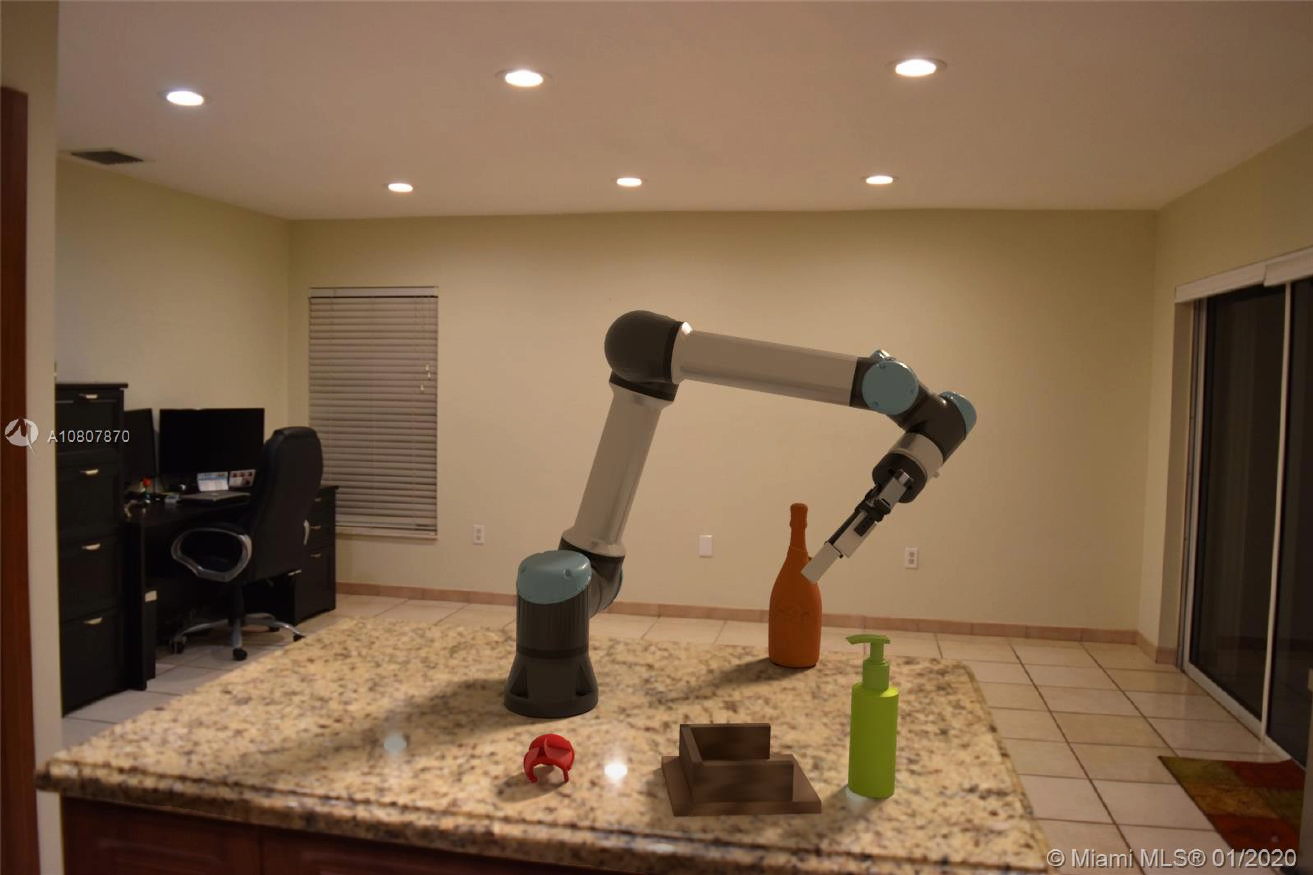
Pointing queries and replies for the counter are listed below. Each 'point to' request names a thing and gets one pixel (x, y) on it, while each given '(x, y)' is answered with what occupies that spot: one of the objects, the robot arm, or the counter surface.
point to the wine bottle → (795, 603)
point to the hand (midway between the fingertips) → (823, 565)
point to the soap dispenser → (873, 724)
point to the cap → (549, 755)
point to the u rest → (734, 773)
